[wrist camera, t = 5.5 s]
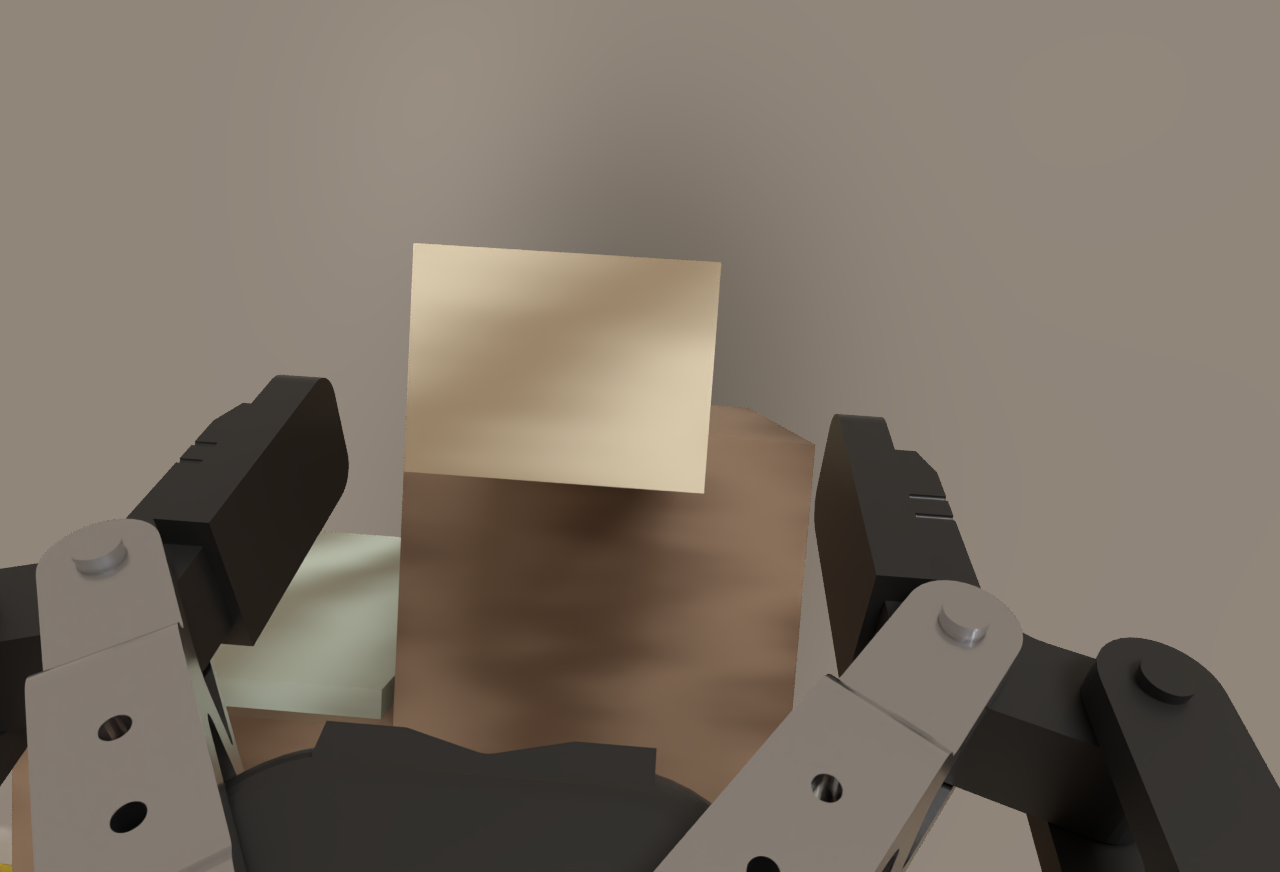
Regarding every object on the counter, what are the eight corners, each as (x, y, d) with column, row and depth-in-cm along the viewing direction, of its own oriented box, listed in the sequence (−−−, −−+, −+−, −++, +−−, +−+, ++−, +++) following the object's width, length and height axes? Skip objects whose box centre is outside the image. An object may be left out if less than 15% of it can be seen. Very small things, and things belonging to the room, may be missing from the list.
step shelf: (697, 1050, 40) (748, 407, 37) (715, 1599, 22) (815, 444, 19) (302, 1010, 41) (323, 378, 38) (12, 1511, 23) (12, 388, 20)
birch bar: (683, 404, 36) (688, 337, 36) (703, 493, 11) (721, 262, 10) (595, 398, 37) (599, 331, 36) (403, 472, 11) (413, 243, 11)
